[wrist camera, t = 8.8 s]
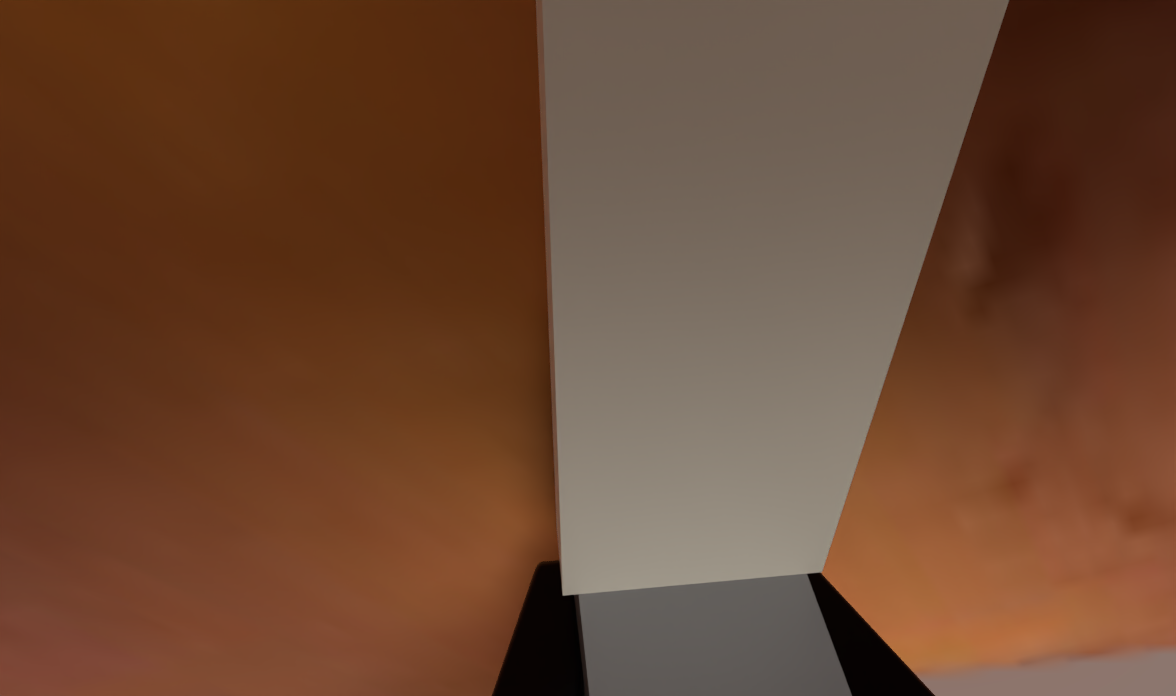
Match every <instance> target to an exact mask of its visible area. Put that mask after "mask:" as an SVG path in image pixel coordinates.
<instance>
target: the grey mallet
mask: <svg viewBox="0 0 1176 696" xmlns="http://www.w3.org/2000/svg"><path fill="white" fill-rule="evenodd" d="M1008 2H1009V0H536V18H537V43H538V69H539V94H540V120H541V145H542V171H543V196H544V222H545V247H546V273H547V298H548V324H549V349H550V375H551V400H552V425H553V451H554V476H555V502H556V527H557V538H558V549H559V560H560V572H561V583H562V594H563V596H565V595H574V599H575V608H576V617H577V625H578V634H579V643H580V651H581V660H582V670H583V680H584V696H852V694H851V692H850V689H849V686H848V684H847V681H846V678H845V676H844V673H843V670H842V667H841V665H840V662H839V659H838V657H837V654H836V651H835V649H834V646H833V643H832V640H831V638H830V635H829V632H828V630H827V627H826V624H825V622H824V619H823V616H822V613H821V611H820V608H819V605H818V603H817V600H816V597H815V595H814V592H813V589H812V587H811V584H810V581H809V578H808V576H807V574H808V573H819V572H822V570H823V567H824V564H825V561H826V558H827V555H828V552H829V549H830V546H831V543H832V540H833V537H834V534H835V531H836V528H837V525H838V521H839V518H840V515H841V512H842V509H843V506H844V503H845V500H846V497H847V494H848V491H849V488H850V485H851V482H852V479H853V476H854V473H855V470H856V466H857V463H858V460H859V457H860V454H861V451H862V448H863V445H864V442H865V439H866V436H867V433H868V430H869V427H870V424H871V421H872V418H873V415H874V411H875V408H876V405H877V402H878V399H879V396H880V393H881V390H882V387H883V384H884V381H885V378H886V375H887V372H888V369H889V366H890V363H891V360H892V356H893V353H894V350H895V347H896V344H897V341H898V338H899V335H900V332H901V329H902V326H903V323H904V320H905V317H906V314H907V311H908V308H909V305H910V301H911V298H912V295H913V292H914V289H915V286H916V283H917V280H918V277H919V274H920V271H921V268H922V265H923V262H924V259H925V256H926V253H927V250H928V247H929V243H930V240H931V237H932V234H933V231H934V228H935V225H936V222H937V219H938V216H939V213H940V210H941V207H942V204H943V201H944V198H945V195H946V192H947V188H948V185H949V182H950V179H951V176H952V173H953V170H954V167H955V164H956V161H957V158H958V155H959V152H960V149H961V146H962V143H963V140H964V137H965V133H966V130H967V127H968V124H969V121H970V118H971V115H972V112H973V109H974V106H975V103H976V100H977V97H978V94H979V91H980V88H981V85H982V82H983V78H984V75H985V72H986V69H987V66H988V63H989V60H990V57H991V54H992V51H993V48H994V45H995V42H996V39H997V36H998V33H999V30H1000V27H1001V23H1002V20H1003V17H1004V14H1005V11H1006V8H1007V5H1008Z"/></svg>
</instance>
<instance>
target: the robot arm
mask: <svg viewBox="0 0 1176 696" xmlns="http://www.w3.org/2000/svg"><path fill="white" fill-rule="evenodd" d="M807 576H808V578H809V581H810V584H811V587H812V589H813V592H814V595H815V597H816V600H817V603H818V605H819V608H820V611H821V613H822V616H823V619H824V622H825V624H826V627H827V630H828V632H829V635H830V638H831V640H832V643H833V646H834V649H835V651H836V654H837V657H838V659H839V662H840V665H841V667H842V670H843V673H844V676H845V678H846V681H847V684H848V686H849V689H850V692H851V694H852V696H935V695H934V694H933V693H932V692H931V691H930V690H929V689H928V688H927V687H926V686H925V684H924V683H923V682H922V681H921V680H920V679H919V678H918V677H917V676H916V675H915V674H914V673H913V672H912V671H911V669H910V668H909V667H908V666H907V665H906V664H905V663H904V662H903V661H902V660H901V659H900V658H899V657H898V655H897V654H896V653H895V652H894V651H893V650H892V649H891V648H890V647H889V646H888V645H887V644H886V643H885V642H884V640H883V639H882V638H881V637H880V636H879V635H878V634H877V633H876V632H875V631H874V630H873V629H872V628H871V627H870V625H869V624H868V623H867V622H866V621H865V620H864V619H863V618H862V617H861V616H860V615H859V614H858V613H857V611H856V610H855V609H854V608H853V607H852V606H851V605H850V604H849V603H848V602H847V601H846V600H845V599H844V598H843V596H842V595H841V594H840V593H839V592H838V591H837V590H836V589H835V588H834V587H833V586H832V585H831V584H830V582H829V581H828V580H827V579H826V578H825V577H824V576H823V575H822V574H821V573H820V572H819V573H808V574H807ZM492 696H584V680H583V670H582V660H581V651H580V643H579V634H578V625H577V617H576V608H575V599H574V595H565V596H563V594H562V583H561V572H560V560H555V561H543V562H540V563H539V564H538V565H537V567H536V569H535V571H534V574H533V577H532V580H531V583H530V586H529V589H528V592H527V595H526V598H525V600H524V603H523V606H522V609H521V612H520V615H519V618H518V621H517V624H516V627H515V630H514V633H513V636H512V638H511V641H510V644H509V647H508V650H507V653H506V656H505V659H504V662H503V665H502V668H501V671H500V674H499V676H498V679H497V682H496V685H495V688H494V691H493V694H492Z"/></svg>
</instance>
